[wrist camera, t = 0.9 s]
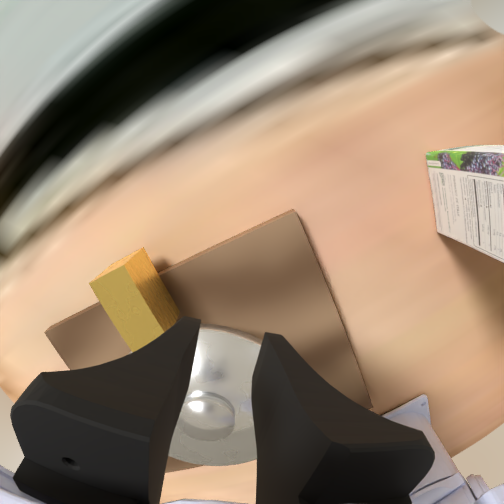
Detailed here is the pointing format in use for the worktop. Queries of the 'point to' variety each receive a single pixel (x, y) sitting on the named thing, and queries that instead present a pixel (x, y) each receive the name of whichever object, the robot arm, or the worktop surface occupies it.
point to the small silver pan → (204, 368)
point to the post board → (239, 306)
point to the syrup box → (470, 196)
